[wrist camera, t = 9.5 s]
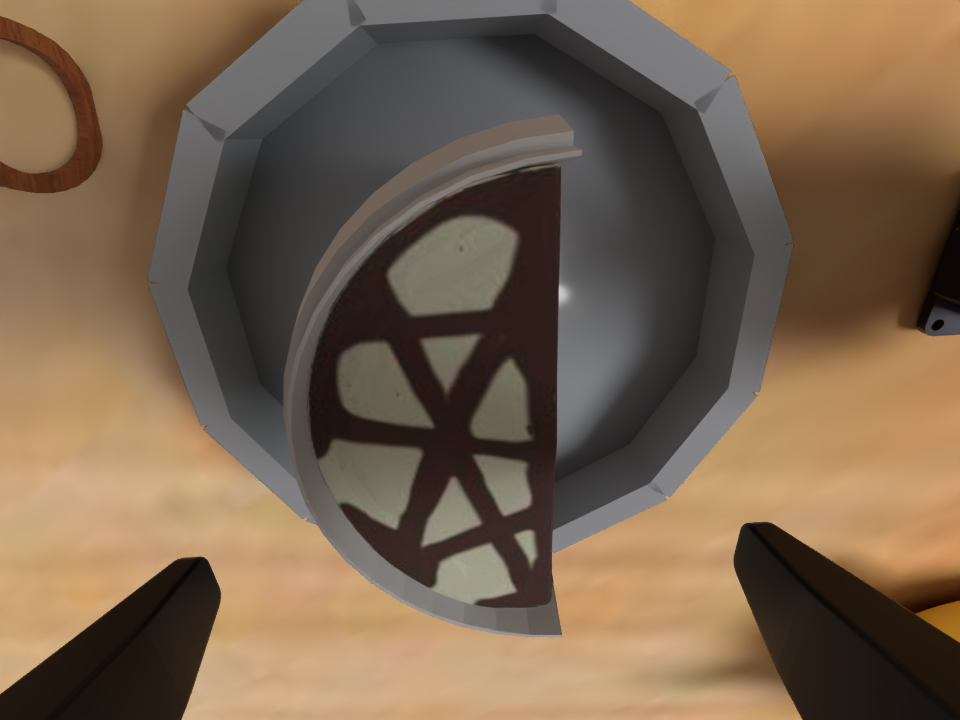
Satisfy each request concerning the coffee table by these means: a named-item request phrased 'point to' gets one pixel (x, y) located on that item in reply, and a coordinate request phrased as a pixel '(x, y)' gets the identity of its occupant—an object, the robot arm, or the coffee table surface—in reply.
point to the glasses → (84, 106)
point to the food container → (441, 381)
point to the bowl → (583, 226)
